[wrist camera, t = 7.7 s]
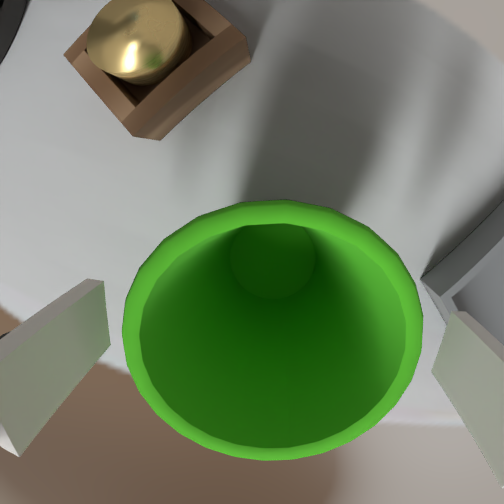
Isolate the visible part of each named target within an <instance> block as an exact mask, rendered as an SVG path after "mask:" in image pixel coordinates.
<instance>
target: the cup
mask: <svg viewBox="0 0 504 504" xmlns="http://www.w3.org/2000/svg"><path fill="white" fill-rule="evenodd" d="M422 332H423V312H422V308H421V304H420V300H419V296H418V292H417V288H416V284H415V282H414V280H413V279H412V277H411V275H410V273H409V272H408V270H407V268H406V267H405V265H404V263H403V262H402V260H401V258H400V257H399V255H398V253H397V252H396V251H394V250H393V249H392V248H391V247H390V246H389V245H388V244H387V243H386V242H385V241H384V240H383V239H381V238H380V237H379V236H378V235H377V234H376V233H375V232H374V231H373V230H371V229H370V228H369V227H368V226H366V225H364V224H362V223H360V222H358V221H356V220H354V219H352V218H350V217H348V216H346V215H344V214H342V213H340V212H338V211H335V210H333V209H331V208H327V207H322V206H317V205H312V204H307V203H302V202H297V201H292V200H269V201H253V202H240V203H237V204H234V205H231V206H228V207H225V208H222V209H219V210H216V211H213V212H210V213H207V214H204V215H201V216H198V217H196V218H195V219H193V220H192V221H190V222H189V223H187V224H186V225H184V226H183V227H181V228H180V229H178V230H177V231H175V232H174V233H172V234H171V235H169V236H168V237H166V238H165V239H164V240H163V241H162V242H161V243H160V244H159V245H158V246H157V248H156V249H155V250H154V251H153V252H152V253H151V255H150V256H149V257H148V258H147V259H146V261H145V262H144V263H143V264H142V265H141V266H140V268H139V270H138V272H137V274H136V277H135V279H134V281H133V283H132V286H131V288H130V290H129V292H128V295H127V297H126V301H125V308H124V316H123V325H122V337H123V344H124V350H125V356H126V362H127V366H128V368H129V370H130V373H131V375H132V377H133V379H134V381H135V384H136V386H137V388H138V390H139V392H140V393H141V395H142V396H143V397H144V399H145V400H146V401H147V402H148V404H149V405H150V406H151V407H152V409H153V410H154V411H155V413H156V414H157V415H158V416H159V417H161V418H162V419H163V420H164V421H165V422H167V423H168V424H169V425H170V426H171V427H172V428H174V429H175V430H176V431H178V432H179V433H180V434H182V435H184V436H185V437H187V438H189V439H191V440H193V441H195V442H196V443H198V444H200V445H202V446H204V447H206V448H209V449H212V450H215V451H218V452H221V453H224V454H227V455H231V456H235V457H241V458H248V459H255V460H291V459H297V458H302V457H307V456H312V455H316V454H320V453H324V452H326V451H329V450H331V449H334V448H336V447H339V446H341V445H344V444H346V443H348V442H350V441H352V440H353V439H355V438H357V437H358V436H360V435H361V434H363V433H364V432H366V431H367V430H369V429H370V428H372V427H373V426H375V425H376V424H377V423H378V422H379V421H380V420H381V419H382V418H383V417H384V416H385V415H386V414H387V413H388V412H389V411H390V410H391V409H392V408H393V407H394V406H395V405H396V404H397V402H398V401H399V399H400V398H401V396H402V394H403V393H404V391H405V390H406V388H407V387H408V385H409V383H410V382H411V380H412V378H413V375H414V372H415V369H416V366H417V363H418V360H419V357H420V354H421V348H422Z"/></svg>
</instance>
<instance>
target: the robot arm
mask: <svg viewBox="0 0 504 504" xmlns="http://www.w3.org/2000/svg"><path fill="white" fill-rule="evenodd" d="M25 4H26V0H0V63H1V61H2V59H3V57H4V55H5V54H6V52H7V50H8V48H9V46H10V44H11V42H12V39H13V37H14V35H15V33H16V31H17V28H18V26H19V23H20V20H21V18H22V15H23V11H24V8H25ZM110 345H111V344H110V336H109V328H108V320H107V311H106V301H105V290H104V281H100V280H93V279H86V280H84V281H83V282H81V283H80V284H78V285H77V286H75V287H74V288H72V289H71V290H69V291H68V292H66V293H65V294H63V295H62V296H60V297H59V298H57V299H56V300H55V301H53V302H52V303H50V304H49V305H47V306H46V307H44V308H43V309H42V310H40V311H39V312H37V313H36V314H34V315H33V316H32V317H30V318H29V319H27V320H26V321H25V322H23V323H22V324H21V325H19V326H18V327H16V328H15V329H14V330H12V331H10V332H8V333H5V334H3V335H2V336H0V446H1V447H2V448H4V449H6V450H8V451H9V452H11V453H13V454H15V455H16V456H18V457H20V456H21V455H22V453H23V452H24V451H25V449H26V448H27V447H28V445H29V444H30V443H31V442H32V440H33V439H34V438H35V436H36V435H37V434H38V433H39V431H40V430H41V429H42V427H43V426H44V425H45V424H46V422H47V421H48V420H49V419H50V417H51V416H52V415H53V414H54V412H55V411H56V410H57V409H58V407H59V406H60V405H61V404H62V402H63V401H64V400H65V399H66V398H67V396H68V395H69V394H70V393H71V392H72V390H73V389H74V388H75V387H76V385H77V384H78V383H79V382H80V381H81V379H82V378H83V377H84V376H85V374H86V373H87V372H88V371H89V370H90V369H91V367H92V366H93V365H94V364H95V363H96V362H97V360H98V359H99V358H100V357H101V356H102V354H103V353H104V352H105V351H106V350H107V349H108V347H109V346H110ZM431 372H432V373H433V375H434V376H435V378H436V379H437V381H438V382H439V384H440V385H441V387H442V388H443V390H444V392H445V393H446V395H447V396H448V398H449V399H450V401H451V402H452V404H453V406H454V407H455V409H456V410H457V412H458V414H459V415H460V417H461V419H462V420H463V422H464V423H465V425H466V427H467V428H468V430H469V432H470V433H471V435H472V437H473V438H474V440H475V442H476V444H477V445H478V447H479V449H480V450H481V452H482V454H483V456H484V457H485V459H486V461H487V463H488V464H489V466H490V468H491V470H492V472H493V473H494V475H495V477H496V479H497V481H498V483H499V484H500V487H501V489H502V488H504V346H503V345H502V344H501V343H500V342H499V341H498V340H497V339H496V338H495V337H494V336H493V335H492V334H491V333H489V332H488V331H487V330H486V329H485V328H484V327H483V326H482V325H481V324H480V323H478V322H477V321H476V320H475V319H474V318H473V317H472V316H470V315H469V314H468V313H467V312H464V311H451V314H450V317H449V321H448V324H447V327H446V330H445V333H444V336H443V340H442V343H441V345H440V348H439V351H438V354H437V357H436V360H435V362H434V365H433V368H432V370H431Z"/></svg>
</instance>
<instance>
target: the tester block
mask: <svg viewBox="0 0 504 504" xmlns="http://www.w3.org/2000/svg"><path fill="white" fill-rule="evenodd" d="M172 2H173V3H174V5H175V6H176V8H177V9H178V11H179V12H180V14H181V15H182V17H183V18H184V20H185V21H186V23H187V24H188V26H189V27H190V30H191V32H192V37H193V45H192V50H191V53H190V56H189V58H188V59H187V60H186V61H185V62H184V63H182V64H181V65H180V66H179V67H178V68H177V69H176V70H174V71H173V72H172V73H171V74H170V75H169V76H168V77H167V78H166V79H164V80H163V81H162V82H161V83H158V84H155V85H150V86H138V85H134V84H131V83H129V82H127V81H125V80H123V79H120V78H118V77H116V76H114V75H112V74H110V73H108V72H106V71H104V70H102V69H100V68H98V67H97V66H96V65H95V64H94V63H93V62H92V61H91V59H90V57H89V55H88V52H87V35H88V31H89V28H90V26H91V25H90V26H89V27H88V28H87V29H86V30H85V32H84V33H83V34H82V35H81V36H80V37H79V38H78V39H77V40H76V41H75V42H74V43H73V44H72V46H71V47H70V48H69V49H68V50H67V51H66V52H65V53H64V56H65V57H66V59H67V60H68V61H69V62H70V63H71V64H72V66H73V67H74V68H75V69H76V70H77V72H78V73H79V74H80V75H81V76H82V77H83V79H84V80H85V81H86V82H87V83H88V85H89V86H90V87H91V88H92V89H93V90H94V92H95V93H96V94H97V95H98V96H99V97H100V99H101V100H102V101H103V102H104V103H105V104H106V106H107V107H108V108H109V109H110V110H111V111H112V113H113V114H114V115H115V116H116V117H117V118H118V120H119V121H120V122H121V123H122V124H123V125H124V127H125V128H126V129H127V130H128V131H129V132H130V134H131V135H132V136H133V137H140V138H146V139H153V140H159V141H160V140H161V139H162V138H163V137H165V136H166V135H167V134H168V133H169V132H170V131H171V130H172V129H173V128H174V127H175V126H176V125H177V124H178V123H179V122H180V121H181V120H183V119H184V118H185V117H186V116H187V115H188V114H189V113H190V112H191V111H192V110H194V109H195V108H196V107H197V106H198V105H199V104H200V103H201V102H203V101H204V100H205V99H206V98H207V97H208V96H209V95H211V94H212V93H213V92H214V91H215V90H217V89H218V88H219V87H220V86H221V85H222V84H224V83H225V82H226V81H227V80H229V79H230V78H231V77H232V76H233V75H235V74H236V73H237V72H238V71H240V70H241V69H242V68H244V67H245V66H246V65H247V64H249V63H250V62H251V59H250V54H249V49H248V45H247V40H246V37H245V36H244V35H243V34H242V33H241V32H240V31H239V30H238V29H237V28H235V27H234V26H233V25H232V24H231V23H230V22H229V21H228V20H227V19H225V18H224V17H223V16H222V15H221V14H220V13H219V12H217V11H216V10H215V9H214V8H213V7H212V6H210V5H209V4H208V3H207V2H206V1H204V0H172Z"/></svg>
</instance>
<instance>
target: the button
mask: <svg viewBox="0 0 504 504" xmlns="http://www.w3.org/2000/svg"><path fill="white" fill-rule="evenodd" d="M192 45H193V37H192V32H191V30H190V27H189V26H188V24H187V23H186V21H185V20H184V18H183V17H182V15H181V14H180V12H179V11H178V9H177V8H176V6H175V5H174V3H173V2H172V0H112V1H110V2H109V3H108V4H107V5H105V6H104V7H103V8H102V9H101V10H100V12H99V13H98V14H97V15H96V17H95V18H94V20H93V22H92V24H91V26H90V28H89V31H88V35H87V52H88V55H89V57H90V59H91V61H92V62H93V63H94V64H95V65H96V66H97V67H98V68H100V69H102V70H104V71H106V72H108V73H110V74H112V75H114V76H116V77H118V78H120V79H123V80H125V81H127V82H129V83H131V84H134V85H138V86H150V85H155V84H158V83H161V82H162V81H163V80H164V79H166V78H167V77H168V76H169V75H170V74H171V73H172V72H173V71H174V70H176V69H177V68H178V67H179V66H180V65H181V64H182V63H184V62H185V61H186V60H187V59H188V58H189V56H190V53H191V50H192Z"/></svg>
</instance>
